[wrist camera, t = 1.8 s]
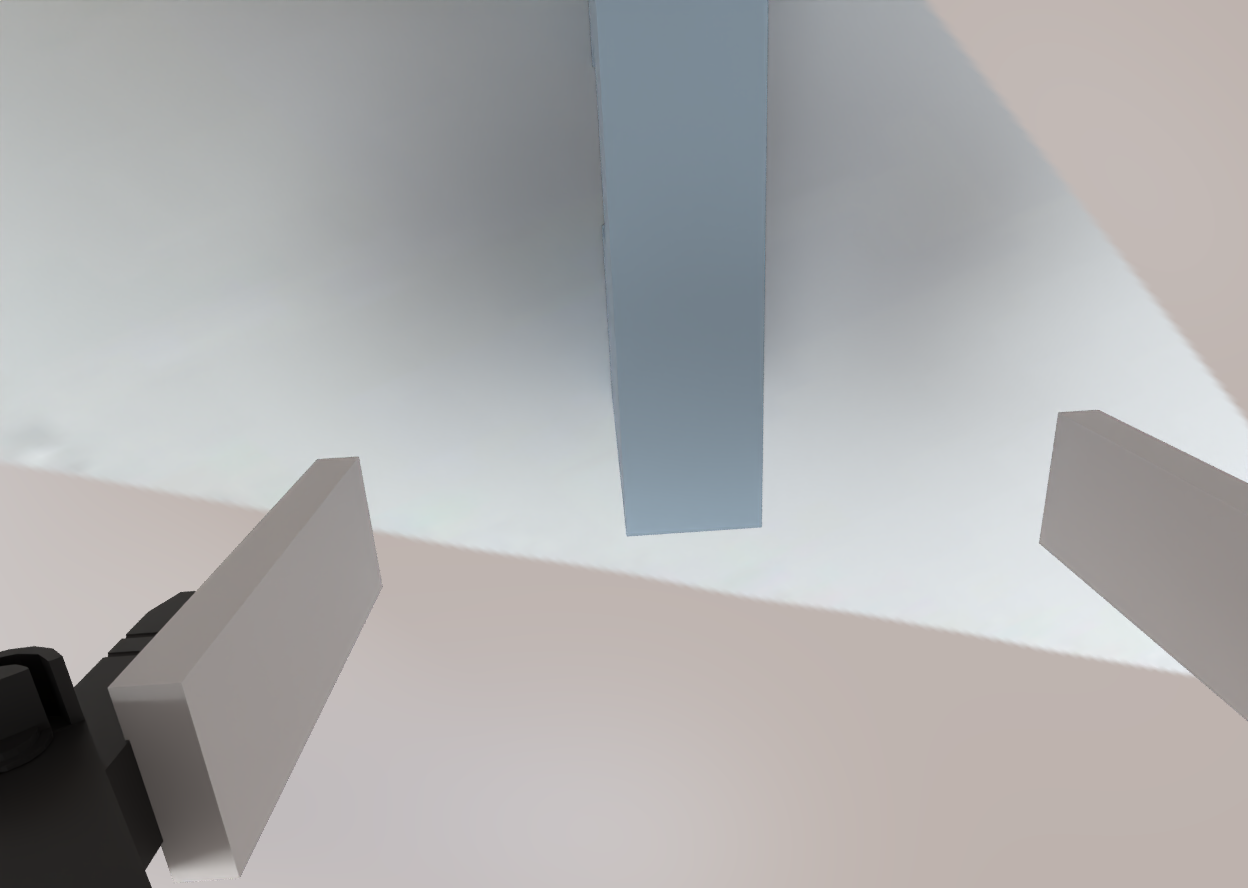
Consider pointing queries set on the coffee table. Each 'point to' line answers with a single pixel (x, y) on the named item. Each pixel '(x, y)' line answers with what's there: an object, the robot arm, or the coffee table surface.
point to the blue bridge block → (685, 254)
